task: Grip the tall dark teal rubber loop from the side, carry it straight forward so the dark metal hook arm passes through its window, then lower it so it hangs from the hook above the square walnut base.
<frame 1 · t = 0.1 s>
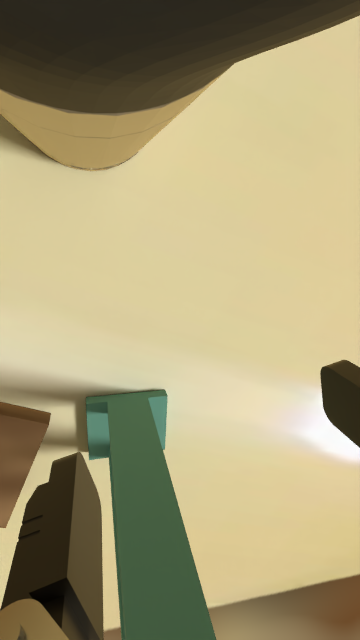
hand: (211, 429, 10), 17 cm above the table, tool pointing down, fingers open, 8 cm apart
teal loop: (126, 421, 30), on the table
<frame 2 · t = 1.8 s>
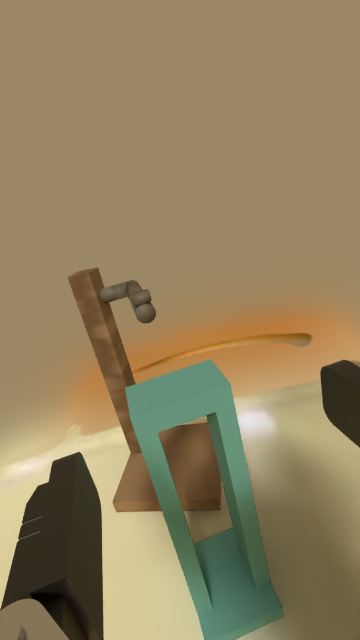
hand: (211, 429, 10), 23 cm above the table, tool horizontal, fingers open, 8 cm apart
teal loop: (228, 583, 27), on the table
hook stand: (175, 467, 40), on the table
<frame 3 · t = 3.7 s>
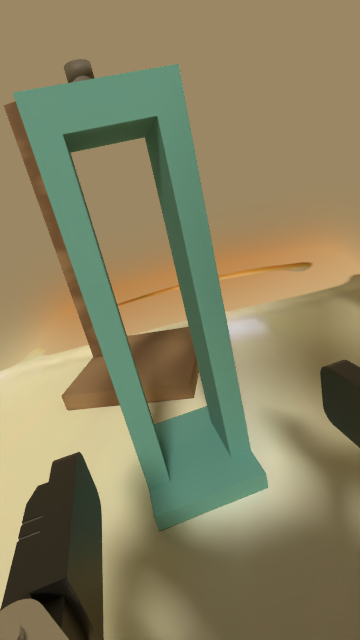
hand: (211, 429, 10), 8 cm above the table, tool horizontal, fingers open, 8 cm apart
teal loop: (196, 461, 20), on the table
hook stand: (144, 369, 33), on the table
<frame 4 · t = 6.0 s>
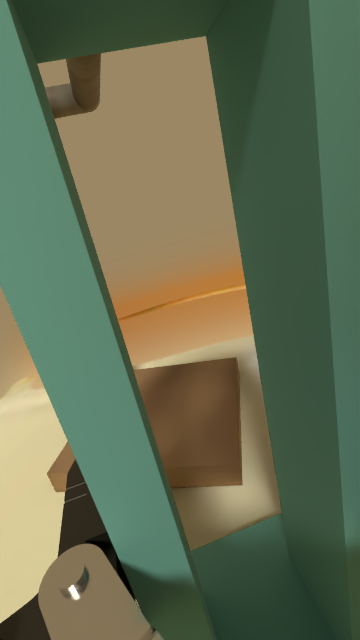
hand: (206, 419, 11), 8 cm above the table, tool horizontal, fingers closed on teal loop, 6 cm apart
hook stand: (162, 422, 24), on the table
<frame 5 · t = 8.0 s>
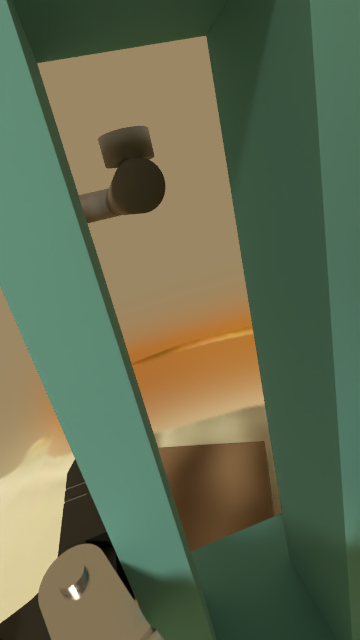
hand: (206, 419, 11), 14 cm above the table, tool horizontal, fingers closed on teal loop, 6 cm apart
hook stand: (191, 520, 23), on the table
when the fingers open (13 cm above the table, at t = 10.5 s): teal loop stays where it is, resting on hook stand.
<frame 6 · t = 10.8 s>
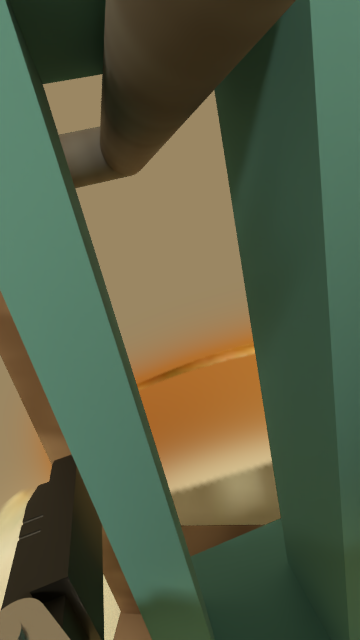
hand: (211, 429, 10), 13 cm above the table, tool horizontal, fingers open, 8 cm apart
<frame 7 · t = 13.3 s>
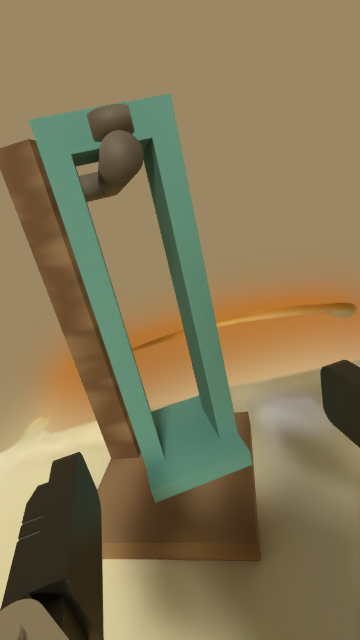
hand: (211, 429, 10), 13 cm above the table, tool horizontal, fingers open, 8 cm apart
teal loop: (188, 444, 22), point 5 cm above the table, touching hook stand
hook stand: (179, 481, 25), on the table
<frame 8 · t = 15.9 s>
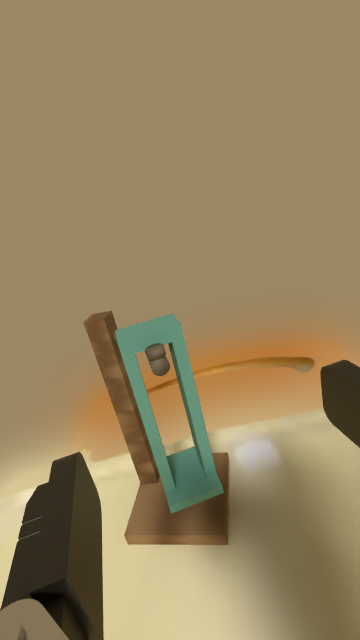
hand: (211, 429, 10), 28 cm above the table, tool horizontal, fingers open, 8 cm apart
teal loop: (189, 478, 38), point 5 cm above the table, touching hook stand
hook stand: (183, 498, 41), on the table
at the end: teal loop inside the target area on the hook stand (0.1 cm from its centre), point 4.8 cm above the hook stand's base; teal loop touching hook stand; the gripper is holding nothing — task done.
